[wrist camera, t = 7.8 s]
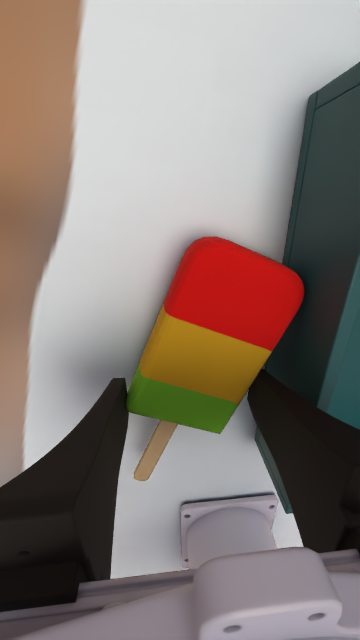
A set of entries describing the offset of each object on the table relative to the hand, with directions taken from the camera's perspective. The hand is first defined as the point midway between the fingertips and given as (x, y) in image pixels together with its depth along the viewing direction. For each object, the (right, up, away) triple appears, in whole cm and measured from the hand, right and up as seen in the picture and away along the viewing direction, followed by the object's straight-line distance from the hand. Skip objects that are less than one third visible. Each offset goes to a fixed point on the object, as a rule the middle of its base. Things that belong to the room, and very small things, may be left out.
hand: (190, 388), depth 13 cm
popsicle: (0, 0, +1) cm, 1 cm away
